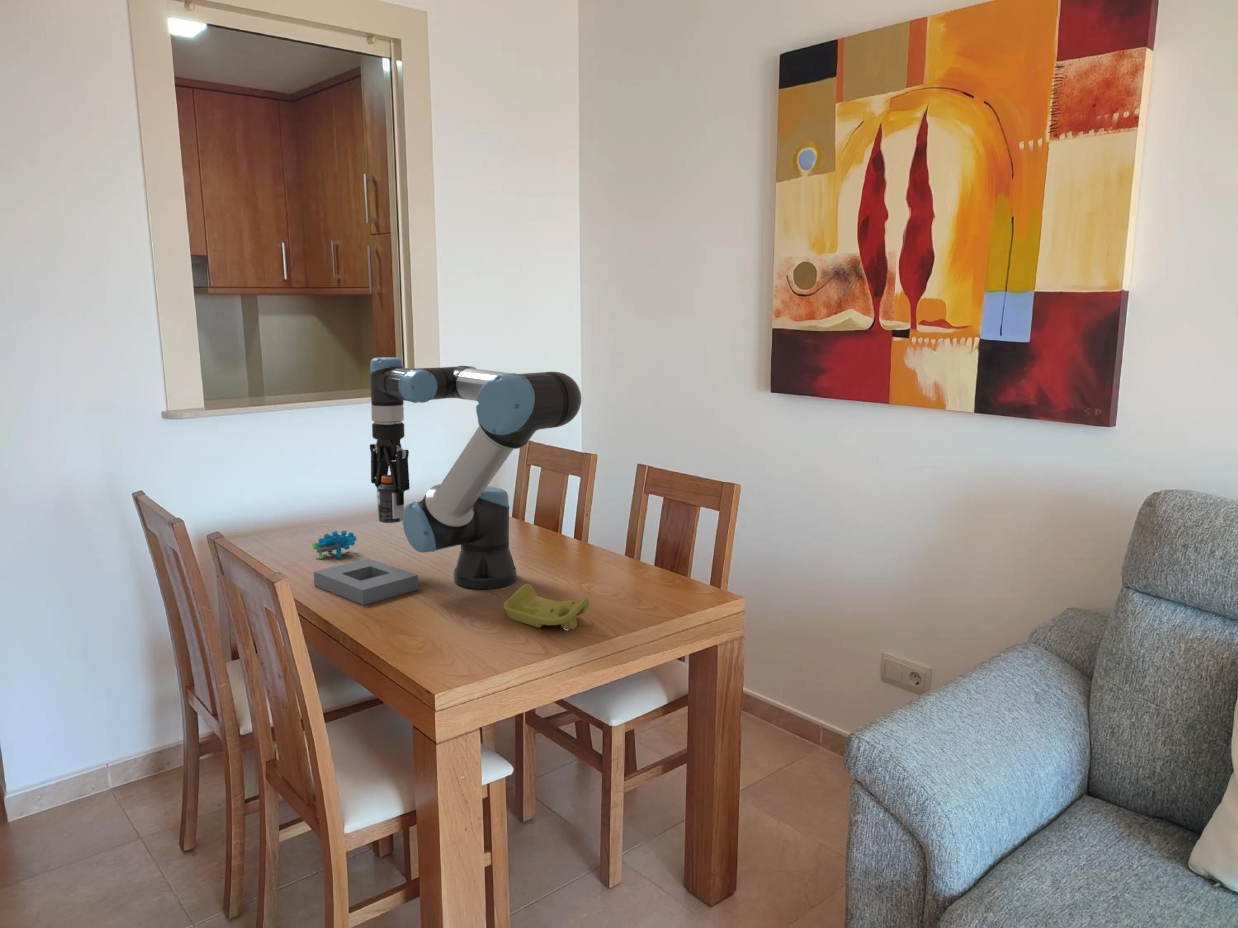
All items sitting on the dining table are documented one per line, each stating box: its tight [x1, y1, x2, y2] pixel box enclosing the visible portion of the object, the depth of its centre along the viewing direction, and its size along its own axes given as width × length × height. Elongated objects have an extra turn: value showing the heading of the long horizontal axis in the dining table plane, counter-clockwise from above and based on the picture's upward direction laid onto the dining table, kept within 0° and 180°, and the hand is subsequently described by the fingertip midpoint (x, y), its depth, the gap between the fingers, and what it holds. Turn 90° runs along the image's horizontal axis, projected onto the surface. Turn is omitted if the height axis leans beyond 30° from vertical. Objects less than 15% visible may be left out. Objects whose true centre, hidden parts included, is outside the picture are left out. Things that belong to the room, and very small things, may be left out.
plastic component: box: [503, 583, 590, 630], centre depth 184 cm, size 20×7×10 cm
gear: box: [312, 530, 357, 560], centre depth 229 cm, size 11×6×10 cm
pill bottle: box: [377, 474, 403, 524], centre depth 213 cm, size 6×6×11 cm
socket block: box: [313, 558, 419, 606], centre depth 205 cm, size 20×15×4 cm
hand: (390, 515), depth 213 cm, fingers closed on pill bottle, 6 cm apart
